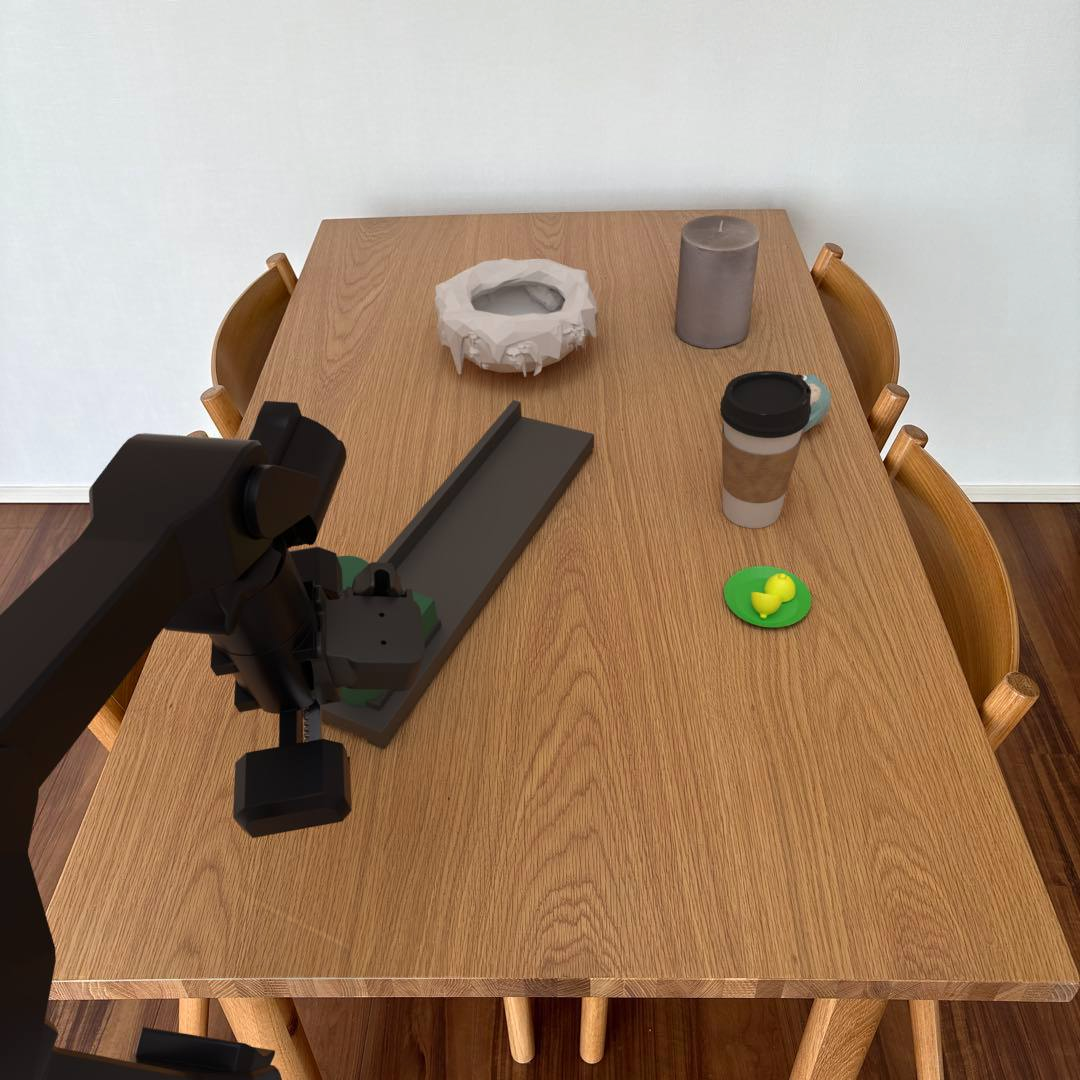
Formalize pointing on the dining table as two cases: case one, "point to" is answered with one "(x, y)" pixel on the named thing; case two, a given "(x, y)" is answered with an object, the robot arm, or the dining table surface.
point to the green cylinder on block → (429, 623)
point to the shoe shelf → (471, 543)
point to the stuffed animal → (816, 400)
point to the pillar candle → (716, 280)
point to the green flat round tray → (767, 596)
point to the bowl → (515, 314)
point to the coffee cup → (761, 443)
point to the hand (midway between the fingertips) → (325, 742)
